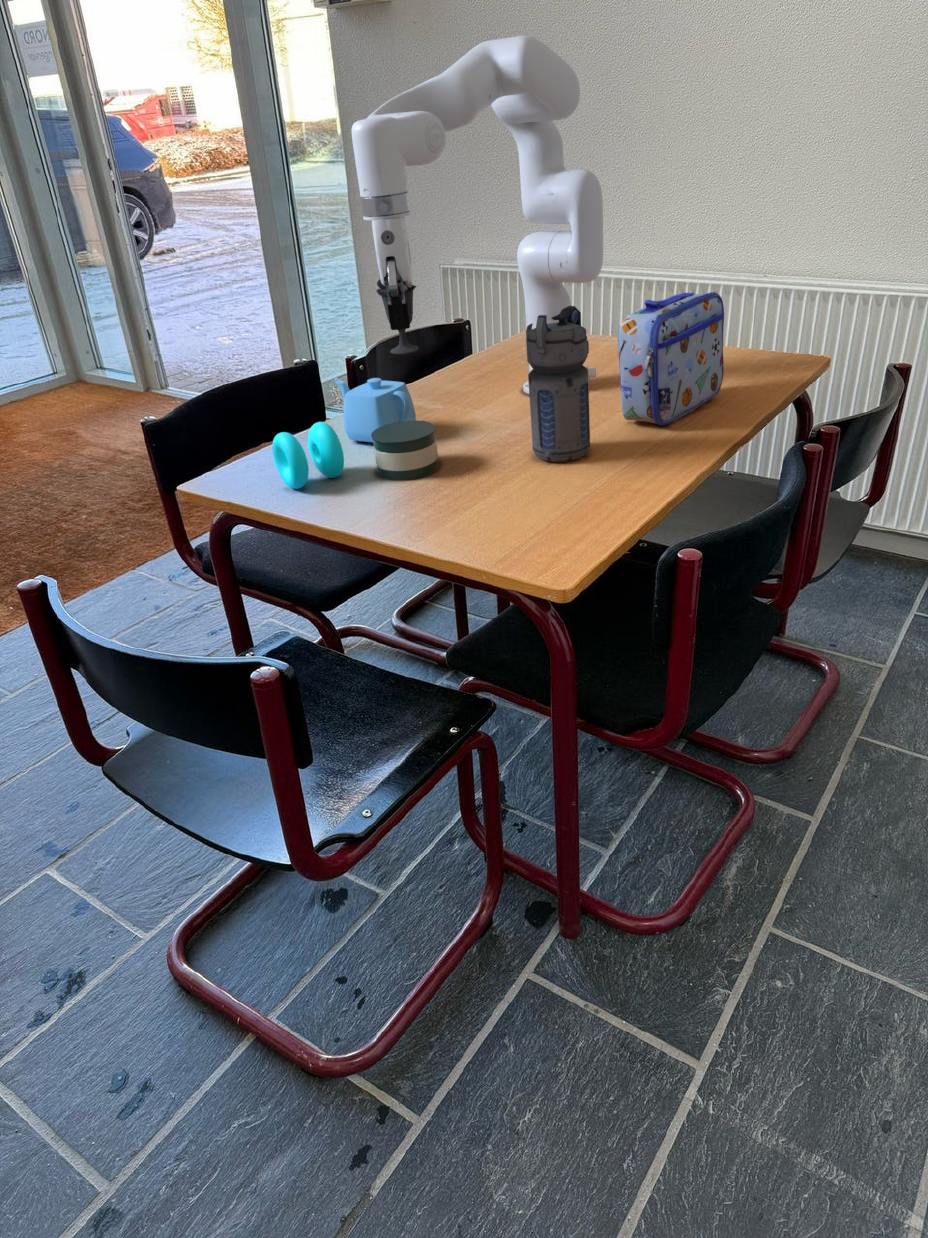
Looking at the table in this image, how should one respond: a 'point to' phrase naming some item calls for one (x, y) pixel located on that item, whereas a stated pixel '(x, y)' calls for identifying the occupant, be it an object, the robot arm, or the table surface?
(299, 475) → the donuts
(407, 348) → the sundae
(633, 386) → the lunch box
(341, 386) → the teapot
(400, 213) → the robot arm
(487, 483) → the table surface
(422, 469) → the tin
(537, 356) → the beverage bottle
